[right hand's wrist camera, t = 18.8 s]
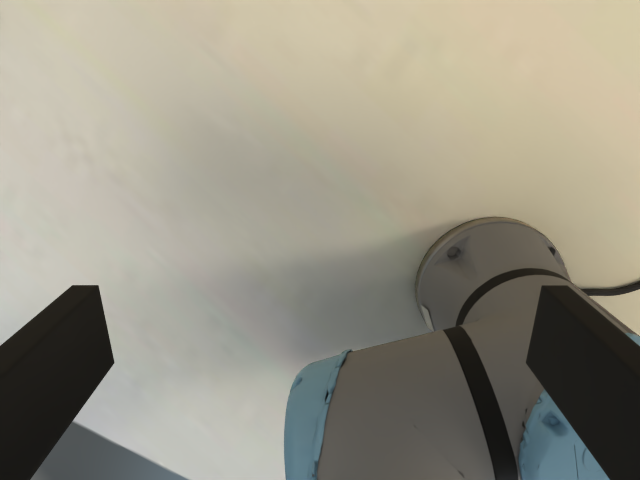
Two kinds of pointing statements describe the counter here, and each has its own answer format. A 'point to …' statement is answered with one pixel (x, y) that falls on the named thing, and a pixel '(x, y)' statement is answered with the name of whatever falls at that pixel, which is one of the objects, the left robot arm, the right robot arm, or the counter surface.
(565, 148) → the counter surface
